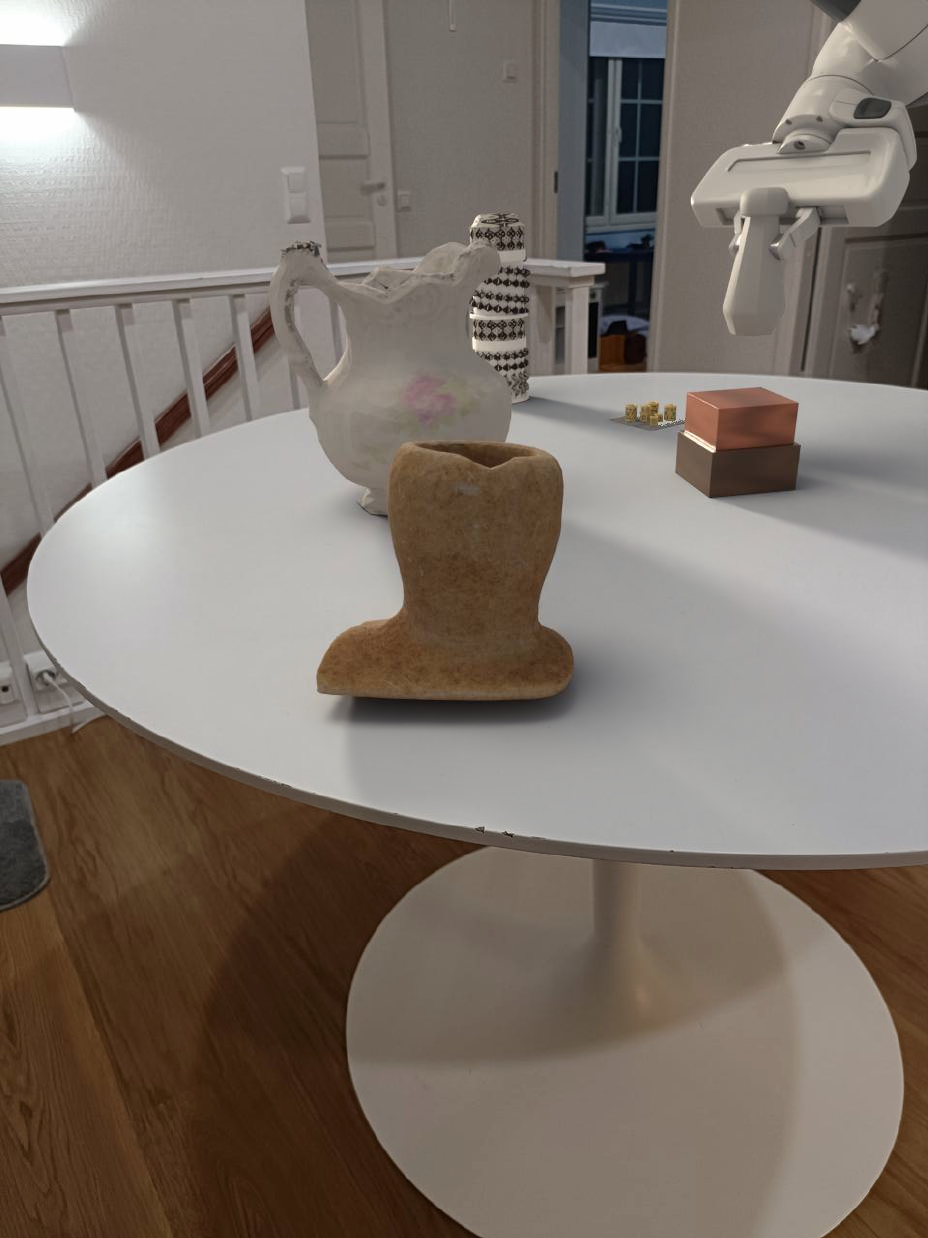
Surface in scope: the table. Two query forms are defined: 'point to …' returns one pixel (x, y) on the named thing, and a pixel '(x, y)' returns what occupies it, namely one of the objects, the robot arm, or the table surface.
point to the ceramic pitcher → (395, 360)
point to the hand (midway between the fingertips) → (756, 255)
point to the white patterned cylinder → (503, 302)
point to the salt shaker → (757, 266)
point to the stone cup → (463, 580)
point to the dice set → (649, 416)
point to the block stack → (738, 442)
